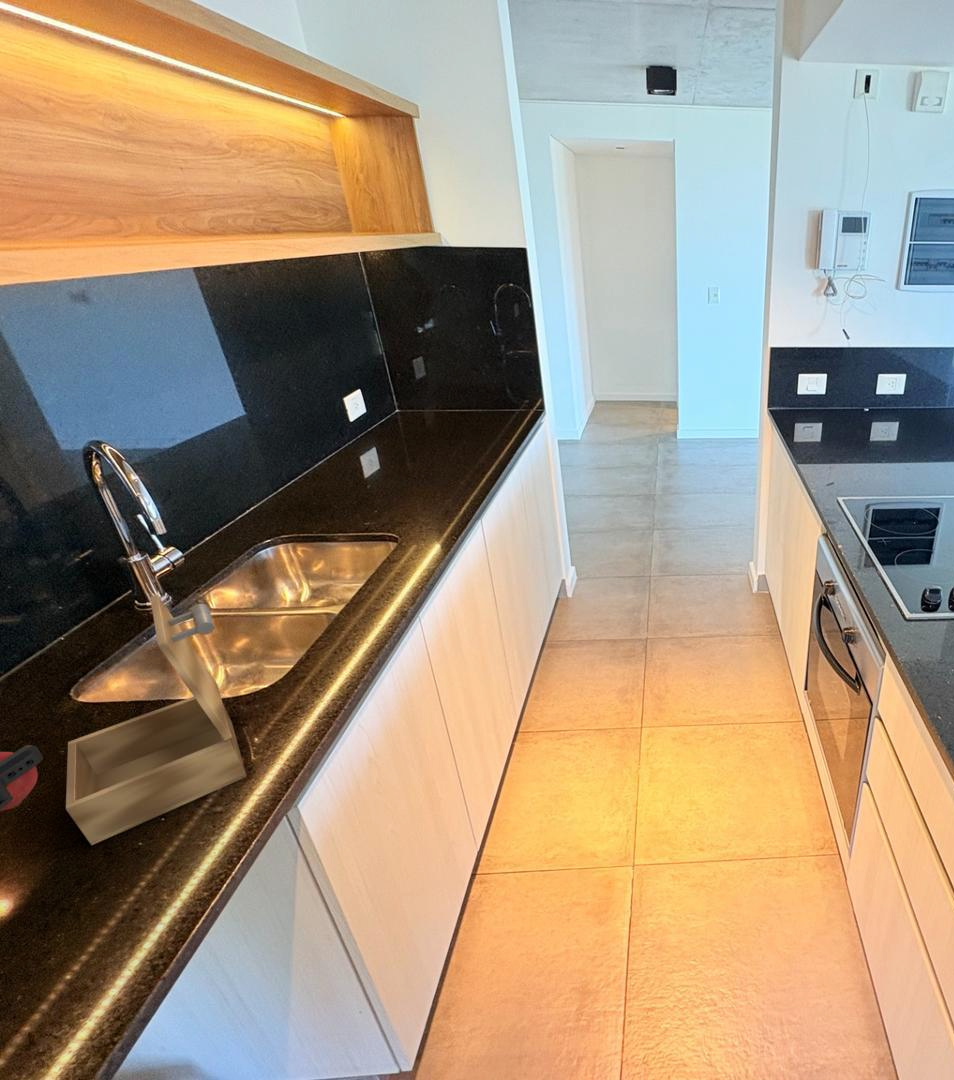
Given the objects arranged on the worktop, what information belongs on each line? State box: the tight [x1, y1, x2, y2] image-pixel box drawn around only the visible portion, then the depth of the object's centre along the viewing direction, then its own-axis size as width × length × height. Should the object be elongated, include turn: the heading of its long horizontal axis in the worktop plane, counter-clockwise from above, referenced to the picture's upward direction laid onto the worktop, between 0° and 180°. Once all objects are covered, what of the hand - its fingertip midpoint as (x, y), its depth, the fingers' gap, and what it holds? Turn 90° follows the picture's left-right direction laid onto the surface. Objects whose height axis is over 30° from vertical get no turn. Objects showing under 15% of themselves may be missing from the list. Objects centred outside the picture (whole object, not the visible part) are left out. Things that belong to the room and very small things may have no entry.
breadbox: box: [65, 696, 247, 846], centre depth 82 cm, size 16×14×7 cm
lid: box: [149, 593, 232, 740], centre depth 81 cm, size 16×14×5 cm
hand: (12, 747), depth 65 cm, fingers closed on onion, 5 cm apart
